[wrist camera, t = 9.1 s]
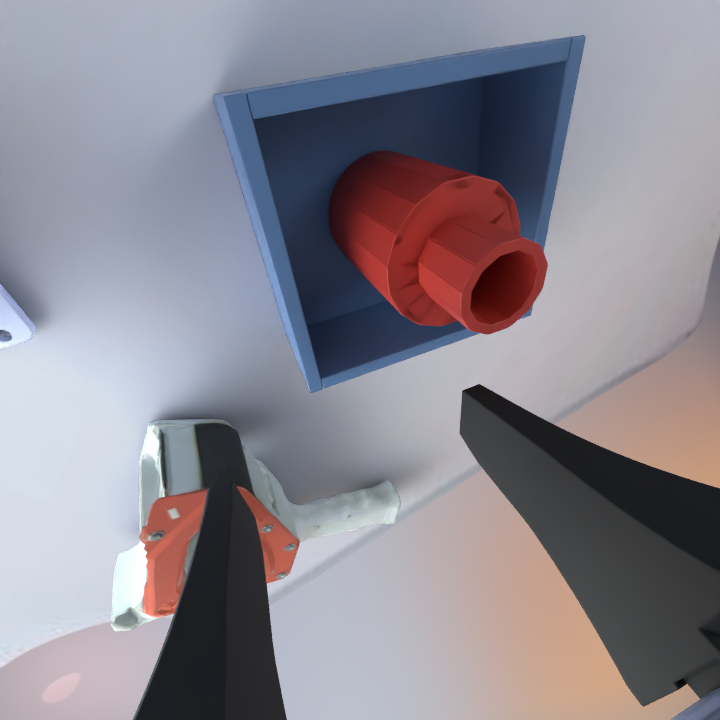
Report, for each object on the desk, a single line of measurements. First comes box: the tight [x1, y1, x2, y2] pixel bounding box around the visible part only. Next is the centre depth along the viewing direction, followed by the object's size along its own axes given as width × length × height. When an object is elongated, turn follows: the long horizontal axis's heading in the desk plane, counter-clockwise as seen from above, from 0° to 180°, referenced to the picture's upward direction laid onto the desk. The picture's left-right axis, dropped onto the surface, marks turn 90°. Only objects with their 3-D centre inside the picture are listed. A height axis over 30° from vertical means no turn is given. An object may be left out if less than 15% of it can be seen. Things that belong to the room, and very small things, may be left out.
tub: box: [213, 35, 586, 393], centre depth 16 cm, size 12×11×5 cm
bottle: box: [328, 151, 548, 334], centre depth 14 cm, size 5×5×9 cm
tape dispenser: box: [111, 419, 401, 631], centre depth 25 cm, size 18×5×20 cm
